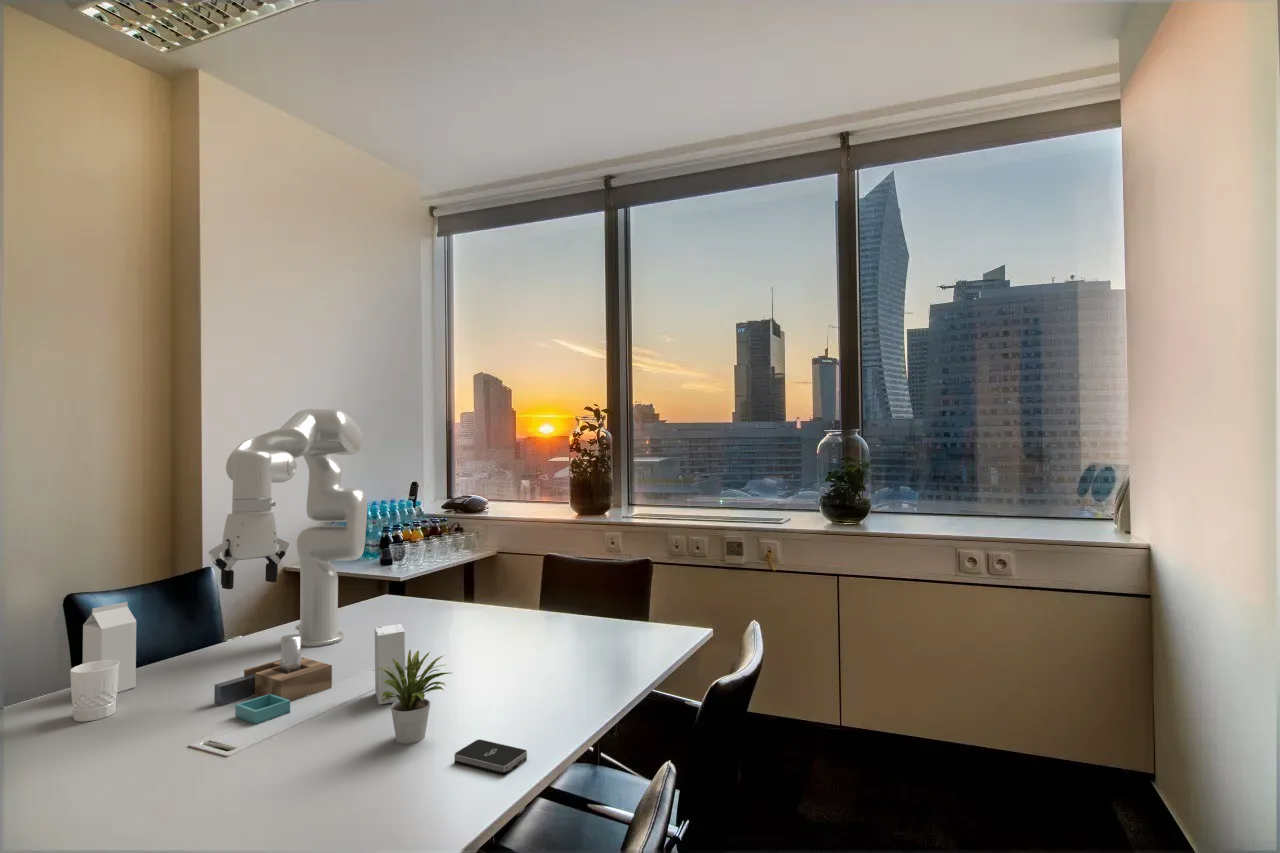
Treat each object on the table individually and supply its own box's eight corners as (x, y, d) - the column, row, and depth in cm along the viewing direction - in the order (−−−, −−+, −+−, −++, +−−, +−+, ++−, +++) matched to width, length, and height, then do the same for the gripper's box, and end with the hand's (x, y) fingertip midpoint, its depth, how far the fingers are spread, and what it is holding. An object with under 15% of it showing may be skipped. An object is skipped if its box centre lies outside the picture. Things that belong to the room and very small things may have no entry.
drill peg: (277, 692, 156) (277, 637, 156) (294, 686, 159) (294, 633, 159) (287, 695, 154) (288, 640, 154) (304, 689, 157) (304, 635, 157)
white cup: (128, 710, 145) (128, 662, 145) (87, 725, 138) (87, 674, 138) (101, 706, 148) (102, 658, 148) (60, 720, 140) (60, 670, 140)
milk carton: (135, 687, 158) (136, 603, 159) (100, 698, 152) (101, 610, 152) (117, 683, 161) (118, 600, 162) (81, 693, 155) (82, 607, 155)
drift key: (214, 703, 149) (214, 684, 149) (251, 691, 155) (252, 673, 156) (220, 705, 147) (220, 686, 147) (258, 694, 154) (258, 675, 154)
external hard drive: (504, 779, 117) (504, 767, 117) (452, 765, 121) (452, 754, 121) (528, 761, 123) (528, 750, 123) (477, 749, 128) (477, 738, 128)
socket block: (243, 692, 155) (244, 669, 155) (294, 676, 166) (295, 655, 166) (280, 704, 148) (280, 681, 148) (331, 687, 158) (331, 665, 158)
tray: (235, 717, 142) (235, 704, 142) (269, 705, 148) (270, 693, 148) (255, 724, 138) (255, 711, 138) (290, 712, 144) (290, 700, 144)
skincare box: (406, 701, 150) (406, 631, 150) (376, 706, 147) (376, 635, 148) (402, 688, 158) (402, 622, 158) (373, 692, 155) (374, 625, 155)
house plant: (400, 765, 121) (401, 669, 121) (350, 746, 128) (350, 656, 128) (462, 735, 133) (462, 648, 133) (413, 719, 140) (413, 637, 140)
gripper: (278, 504, 164) (277, 578, 163) (201, 508, 149) (199, 589, 148) (298, 505, 160) (296, 580, 159) (221, 509, 145) (219, 593, 144)
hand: (249, 585), depth 154 cm, fingers open, 9 cm apart
